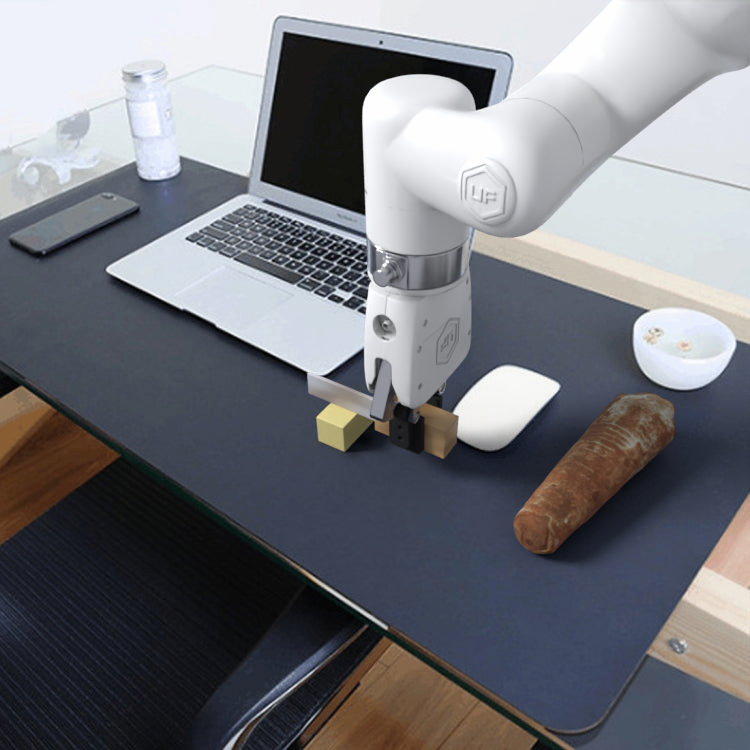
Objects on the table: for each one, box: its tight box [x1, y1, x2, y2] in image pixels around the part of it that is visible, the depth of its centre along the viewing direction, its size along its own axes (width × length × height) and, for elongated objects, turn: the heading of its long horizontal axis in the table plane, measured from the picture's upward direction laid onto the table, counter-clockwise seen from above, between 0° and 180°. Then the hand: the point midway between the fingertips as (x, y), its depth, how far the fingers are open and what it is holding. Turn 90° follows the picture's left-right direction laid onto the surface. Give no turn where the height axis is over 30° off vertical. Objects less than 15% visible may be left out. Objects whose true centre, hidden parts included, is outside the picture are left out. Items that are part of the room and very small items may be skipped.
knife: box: [306, 371, 460, 460], centre depth 71 cm, size 15×2×3 cm, turn 58°
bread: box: [512, 391, 677, 555], centre depth 67 cm, size 6×19×6 cm, turn 135°
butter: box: [315, 402, 374, 453], centre depth 74 cm, size 5×3×3 cm, turn 148°
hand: (415, 435), depth 70 cm, fingers closed on knife, 2 cm apart
